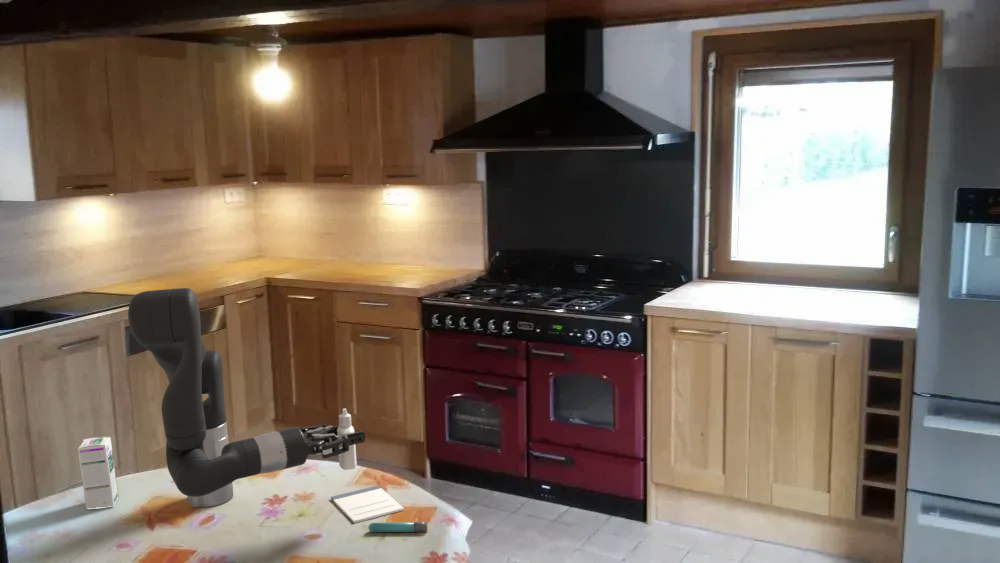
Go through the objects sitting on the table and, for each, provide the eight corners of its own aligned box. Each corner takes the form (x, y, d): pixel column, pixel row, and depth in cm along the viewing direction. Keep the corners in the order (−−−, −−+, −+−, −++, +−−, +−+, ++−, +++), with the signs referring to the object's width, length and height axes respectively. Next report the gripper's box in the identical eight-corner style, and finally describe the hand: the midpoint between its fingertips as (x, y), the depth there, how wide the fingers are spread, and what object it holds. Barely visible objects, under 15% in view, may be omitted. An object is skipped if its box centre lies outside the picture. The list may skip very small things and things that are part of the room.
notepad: (354, 523, 181) (354, 520, 180) (331, 499, 193) (330, 496, 192) (403, 510, 186) (403, 507, 186) (378, 487, 198) (378, 485, 198)
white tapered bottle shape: (362, 460, 184) (359, 405, 182) (353, 471, 178) (349, 413, 176) (342, 460, 184) (339, 404, 182) (332, 470, 179) (328, 413, 177)
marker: (367, 533, 176) (367, 524, 175) (369, 529, 177) (369, 520, 177) (426, 533, 175) (426, 524, 175) (428, 529, 177) (427, 520, 177)
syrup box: (114, 507, 192) (106, 444, 190) (85, 511, 191) (77, 447, 188) (119, 497, 198) (111, 435, 195) (90, 500, 196) (82, 438, 194)
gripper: (290, 442, 166) (372, 423, 175) (263, 422, 178) (341, 406, 187) (293, 480, 167) (374, 459, 176) (266, 458, 179) (344, 440, 188)
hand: (357, 432), depth 182 cm, fingers closed on white tapered bottle shape, 5 cm apart
